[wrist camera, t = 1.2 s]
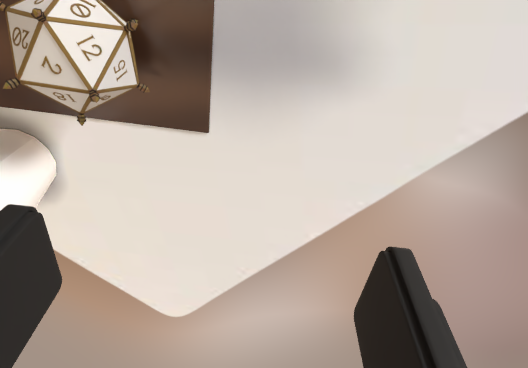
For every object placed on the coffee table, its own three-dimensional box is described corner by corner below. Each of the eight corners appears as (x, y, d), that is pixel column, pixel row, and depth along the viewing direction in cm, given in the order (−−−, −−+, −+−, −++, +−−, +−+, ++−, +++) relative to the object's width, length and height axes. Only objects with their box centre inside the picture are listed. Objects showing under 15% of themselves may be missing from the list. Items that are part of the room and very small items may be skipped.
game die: (108, 43, 30) (-9, 104, 25) (77, -72, 23) (-94, -21, 18) (187, 96, 28) (77, 174, 23) (180, -15, 21) (19, 63, 16)
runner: (-179, -119, 22) (-181, -119, 21) (216, -59, 23) (216, -59, 23) (-83, 95, 29) (-84, 95, 29) (208, 132, 30) (208, 132, 30)
